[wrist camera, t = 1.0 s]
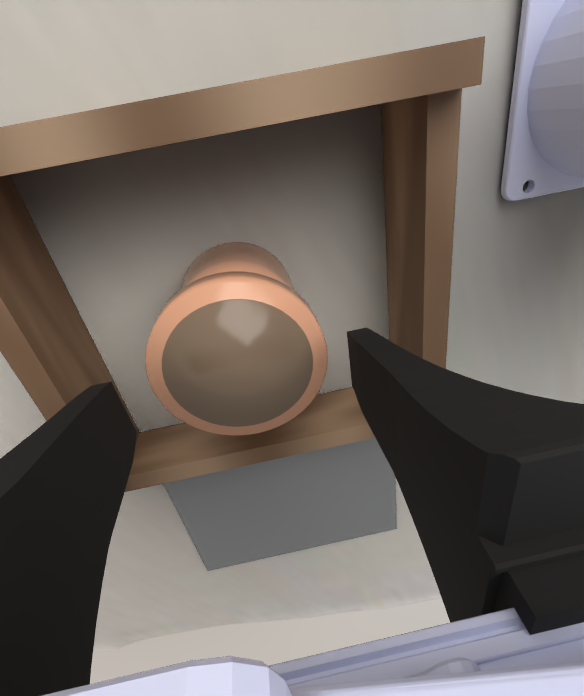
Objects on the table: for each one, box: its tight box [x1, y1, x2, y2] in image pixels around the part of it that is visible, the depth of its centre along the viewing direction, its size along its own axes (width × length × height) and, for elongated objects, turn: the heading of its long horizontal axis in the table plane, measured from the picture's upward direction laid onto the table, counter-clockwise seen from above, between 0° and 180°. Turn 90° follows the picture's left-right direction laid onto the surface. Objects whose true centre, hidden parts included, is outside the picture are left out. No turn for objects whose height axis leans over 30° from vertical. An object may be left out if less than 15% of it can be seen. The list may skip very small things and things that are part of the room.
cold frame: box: [0, 36, 485, 492], centre depth 15 cm, size 16×15×5 cm
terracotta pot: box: [145, 242, 328, 435], centre depth 15 cm, size 6×6×6 cm
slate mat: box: [164, 438, 397, 571], centre depth 25 cm, size 14×10×1 cm
